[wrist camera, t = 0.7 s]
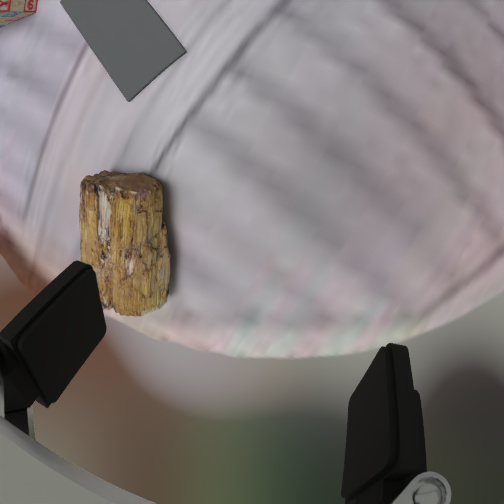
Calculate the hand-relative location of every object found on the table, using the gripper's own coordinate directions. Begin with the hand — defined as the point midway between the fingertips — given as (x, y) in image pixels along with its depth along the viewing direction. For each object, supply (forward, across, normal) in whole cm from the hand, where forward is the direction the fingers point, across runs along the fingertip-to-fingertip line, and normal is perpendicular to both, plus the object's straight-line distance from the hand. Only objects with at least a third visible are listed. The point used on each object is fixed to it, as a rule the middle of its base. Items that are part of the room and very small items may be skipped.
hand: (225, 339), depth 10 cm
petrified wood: (+30, +21, +16) cm, 40 cm away
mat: (+30, +26, -14) cm, 42 cm away
